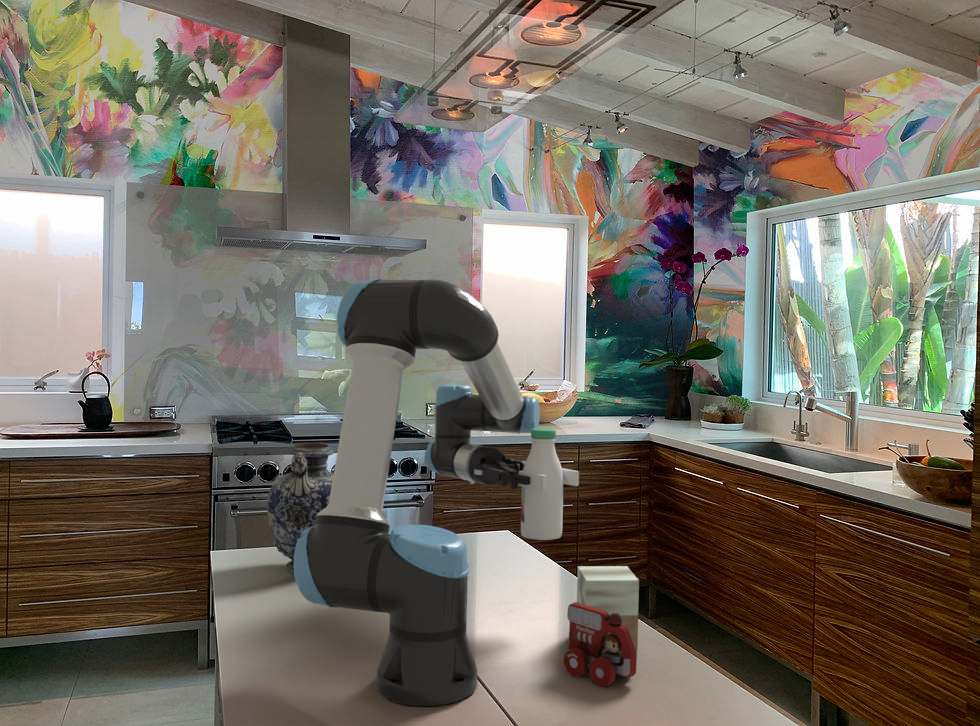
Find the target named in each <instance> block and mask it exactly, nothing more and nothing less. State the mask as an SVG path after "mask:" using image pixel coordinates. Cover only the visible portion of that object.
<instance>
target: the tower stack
mask: <svg viewBox="0 0 980 726" xmlns="http://www.w3.org/2000/svg"><path fill="white" fill-rule="evenodd" d="M576 579H577V583H576V584H577V585H576V602H577V603H581V604H584V605H587V606H590V607H594V608H597V609H601V610H604V611H606V612H608V614H609V616H610V615H611V614H612V613H618V614H620V615H621V617H622V623H621V624H620V625H624V626H626V627H627V628H628V630H629V633H630V635H631V639H632V641H633V644H634V647H635V650H636V651H638V646H639V645H638V642H639V641H638V639H639V635H638V634H639V633H638V632H639V597H640V595H639V594H640V593H639V591H640V579H639V578H638V577H636V575H635V574H634V572H632V570H631V569H630V568H629V566H627V565H625V566H624V565H623V566H621V565H615V566H614V565H607V566H605V565H604V566H603V565H600V566H599V565H595V566H593V565H592V566H591V565H590V566H589V565H588V566H587V565H586V566H585V565H584V566H583V565H580V566H578V565H577V578H576ZM609 634H611V633H608V634H607V635H609Z"/></svg>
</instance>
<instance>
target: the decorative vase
mask: <svg viewBox="0 0 980 726" xmlns="http://www.w3.org/2000/svg"><path fill="white" fill-rule="evenodd" d="M289 454H290V455H291V456H292V459H291V467H290V472H288V473H286V474H283V475H282V476H280V477H279V478H278V479H276V480H275V482H274V483H273V484H272V485H271V487H270V489H269V491H268V495H267V503H266V505H267V506H266V507H267V520H268V525H269V528H270V531H271V533H272V537H273V542H274V543H275V546H276V549H277V551H278V552H279V553H281V554H282V555H283V556H284V557H287V558H289V559H290V560H291V561H289V562H287V563H286V564H285V566H284V571H285V572H286V573H288V574H290V575H294V553H295V547H296V544H297V541H298V539H299V538H300V535H301V534H302V532H303V531H304V530H305V529H307V528H309V527H312V526H315V523H316V517H317V514H318V513H319V512H320V511H322V510H323V509H324V508H326V507H327V506H328V504H329V499H330V493H331V487H332V481H333V475H334V472H333V473H332V472H330V471H329V470H328V469H327V468H328V467H329V466H328V461H329V460H328V459H329V456H333V455H334V450H332V449H331V448H330V445H329V444H326V443H323V442H318V443H316V442H312V443H311V442H306V443H305V442H303V443H297V444H296V443H295V444H294V445H293V448H291V449H290V450H289Z"/></svg>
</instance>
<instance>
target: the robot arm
mask: <svg viewBox="0 0 980 726" xmlns="http://www.w3.org/2000/svg"><path fill="white" fill-rule="evenodd" d="M336 315H337V316H336V324H337V325H338V327H337V331H336V332H337V334H338V337H339V340H340V342H341V343H342V344H343V345H344V346H346V347H345V353H346V355H347V356H348V358H349V359H350V360H351V362H352V367H351V372H350V378H349V381H348V382H349V383H348V389H347V394H346V400H345V407H344V411H343V418H342V424H341V429H340V435H339V441H338V448H337V453H336V458H335V464H334V470H333V474H334V475H333V481H332V487H331V493H330V499H329V504H328V506H327V507H326V508H324V509H323V510H322V511H320V512H319V513H318V514H317V517H316V523H315V526H312V527H309V528H307V529H305V530H304V531H303V532H302V534H301V535H300V538H299V539H298V541H297V544H296V547H295V553H294V574H295V575H294V574H293V575H294V578H295V579H294V580H295V583H296V585H297V586H298V591H299V592H300V594H301V595H302V597H303V598H304V599H306V600H307V601H308V602H310V603H313V604H317V605H320V606H321V605H323V606H326V607H328V608H335V609H336V608H341V609H351V610H357V611H358V610H359V611H365V612H366V611H367V612H376V613H386V614H388V615H389V628H388V629H389V631H388V632H389V633H388V638H387V640H386V644H385V646H384V649H383V653H382V655H381V659H380V661H379V665H378V668H377V671H376V672H377V673H376V688H377V691H378V693H380V695H382V696H383V697H385V698H386V699H388V700H389V701H392V702H395V703H398V704H402V705H406V706H416V707H434V706H435V707H436V706H443V705H448V704H452V703H456V702H457V703H458V702H459V701H463V700H464V699H466V698H468V697H469V696H470V695H472V694H473V693H474V692H475V691H476V690H477V688H478V668H477V665H476V661H475V656H474V654H473V651H472V647H471V645H470V642H469V637H468V635H467V620H468V619H467V616H468V577H469V576H468V574H469V570H470V567H469V564H468V546H467V544H466V542H465V540H464V539H463V538H462V537H461V536H459V535H458V534H457V533H455V532H453V531H451V530H448V529H445V528H442V527H439V526H438V527H437V526H433V525H427V524H426V525H425V524H418V525H416V524H412V523H410V524H402V525H398V526H395V527H394V528H393V529H392V530H391V532H390V527H391V523H390V521H389V520H388V519H387V517H386V516H385V514H384V511H383V510H384V505H385V504H384V503H385V497H386V491H387V490H386V489H387V483H388V476H389V469H390V463H391V456H392V450H393V445H394V437H395V436H394V435H395V431H396V423H397V417H398V411H399V405H400V398H401V391H402V386H403V384H402V383H403V379H404V371H405V370H406V369H408V368H409V367H410V366H411V365H413V364H414V363H415V358H416V352H417V351H416V350H421V349H423V350H424V349H428V350H429V349H432V350H433V349H435V350H442V351H446V352H447V353H448V354H449V356H451V357H452V358H453V359H454V360H456V361H458V362H460V363H461V365H462V367H463V369H464V371H465V373H466V374H467V376H468V379H470V381H471V383H472V385H473V386H474V388H475V390H476V392H477V394H473V392H472V387H471V386H470V385H469V384H468V385H466V384H440V385H439V386H438V387H437V388H436V394H435V405H434V412H435V413H434V416H435V417H434V418H435V419H434V420H435V422H434V423H435V424H434V440H432V441H430V442H429V443H428V444H427V446H426V447H427V448H426V450H425V451H424V461H425V465H426V467H427V469H429V470H430V471H431V472H433V473H436V474H439V475H441V476H443V477H451V478H456V479H460V480H464V481H469V484H470V485H474V484H475V483H477V484H481V485H484V486H487V487H488V486H489V487H490V486H496V485H500V486H503V487H505V486H506V487H507V486H508V485H510V489H511V490H518V486H519V487H522V486H523V487H527V488H532V489H536V490H541V491H546V475H542V474H537V473H532V472H527V471H523V469H524V465H525V463H526V460H527V458H526V459H522V460H519V459H514V458H509V457H506V455H505V454H504V452H502V451H501V450H500V449H498V448H496V447H495V448H494V447H490V446H485V445H480V444H473V443H471V437H472V435H471V432H472V431H474V432H475V431H477V432H491V433H493V432H494V433H508V434H509V433H511V434H518V435H519V434H531V430H532V429H535V428H539V424H540V420H541V419H540V418H541V410H540V409H541V407H540V402H539V400H538V399H537V398H536V397H532V396H528V395H524V396H523V395H522V393H521V391H520V389H519V386H518V384H517V381H516V380H515V378H514V375H513V374H512V371H511V369H510V366H509V364H508V363H507V359H506V357H505V356H504V354H503V351H502V349H501V347H500V345H499V342H498V341H499V337H500V336H499V330H498V329H499V328H498V326H497V324H496V322H495V320H494V318H493V316H492V315H491V313H490V312H489V311H488V310H487V308H486V307H485V306H484V305H483V304H482V303H481V302H480V301H479V300H478V299H477V298H476V297H474V296H473V295H472V294H470V293H469V292H468V291H467V290H466V289H464V288H461V287H460V286H458V285H456V284H454V283H452V282H449V281H445V280H440V279H434V278H433V279H431V278H430V279H383V278H374V279H370V280H361V281H360V280H359V281H357V282H355V283H354V284H352V285H351V286H348V288H347V290H346V291H345V293H344V294H343V296H342V298H341V300H340V302H339V306H338V309H337V314H336ZM562 472H563V485H569V486H572V487H579V486H580V485H579V483H580V481H579V480H580V471H579V470H573V469H568V468H564V467H562ZM389 533H390V534H389Z"/></svg>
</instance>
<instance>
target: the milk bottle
mask: <svg viewBox="0 0 980 726" xmlns="http://www.w3.org/2000/svg"><path fill="white" fill-rule="evenodd" d="M556 435H557V432H556V429H555V428H549V427H548V428H547V427H545V428H544V427H538V428H535V429H532V430H531V433H530V437H531V438H530V441H531V448H530V452H529V454H528V456H527V458H526V463H525V465H524V469H523V471H527V472H532V473H537V474H542V475H546V491H541V490H536V489H532V488H527V487H523V486H521V503H520V505H521V508H520V534H521V536H522V537H523V538H526V539H530V540H537V541H551V540H556V539H557V540H558V539H560V538H561V537H562V535H563V522H564V521H563V514H564V513H563V512H564V484H563V472H562V468H563V467H562V465H561V461H560V459H559V457H558V454H557V452H556V446H555V442H556Z"/></svg>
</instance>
